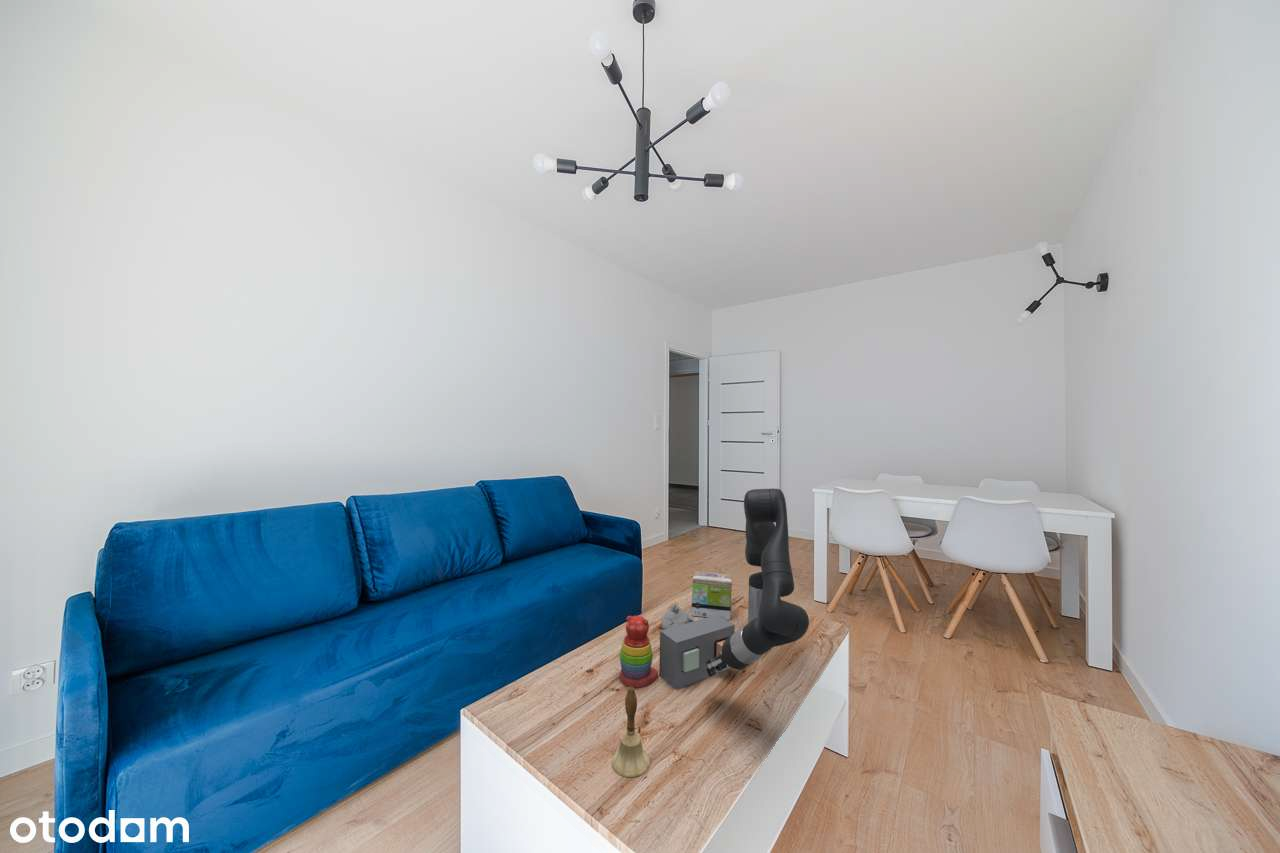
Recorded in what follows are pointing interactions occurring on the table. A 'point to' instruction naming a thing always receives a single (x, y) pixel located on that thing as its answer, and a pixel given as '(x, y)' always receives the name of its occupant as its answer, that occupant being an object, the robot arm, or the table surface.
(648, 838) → the table surface
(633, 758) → the hand bell
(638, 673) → the stacking bear
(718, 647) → the salmon button
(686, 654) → the sage button
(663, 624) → the grey clay mound
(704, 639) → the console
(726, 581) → the tea box
